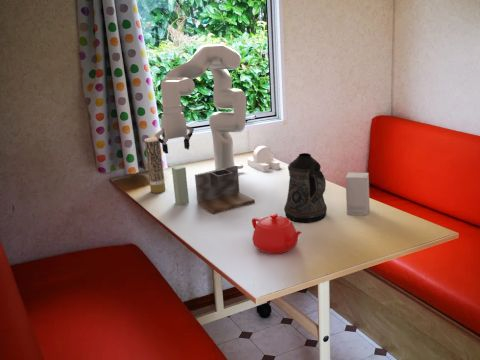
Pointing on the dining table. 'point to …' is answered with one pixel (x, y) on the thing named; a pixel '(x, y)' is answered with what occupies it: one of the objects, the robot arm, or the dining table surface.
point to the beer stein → (305, 191)
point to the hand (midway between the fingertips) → (176, 150)
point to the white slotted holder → (263, 159)
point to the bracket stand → (220, 190)
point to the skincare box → (357, 193)
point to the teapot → (274, 234)
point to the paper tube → (155, 165)
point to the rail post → (180, 185)
